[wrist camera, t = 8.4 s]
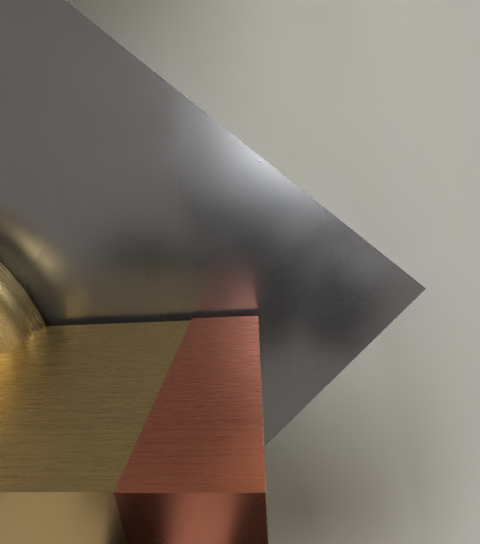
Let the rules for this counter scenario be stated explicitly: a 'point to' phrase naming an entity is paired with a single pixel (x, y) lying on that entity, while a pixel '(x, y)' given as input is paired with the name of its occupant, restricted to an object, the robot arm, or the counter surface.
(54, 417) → the brass lever handle
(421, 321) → the counter surface
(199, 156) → the base plate
